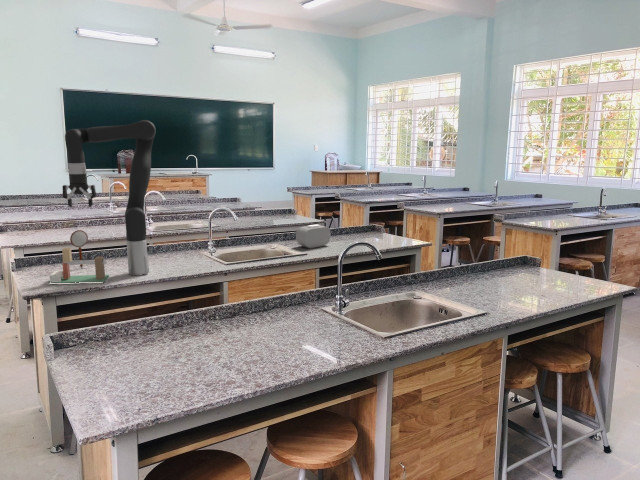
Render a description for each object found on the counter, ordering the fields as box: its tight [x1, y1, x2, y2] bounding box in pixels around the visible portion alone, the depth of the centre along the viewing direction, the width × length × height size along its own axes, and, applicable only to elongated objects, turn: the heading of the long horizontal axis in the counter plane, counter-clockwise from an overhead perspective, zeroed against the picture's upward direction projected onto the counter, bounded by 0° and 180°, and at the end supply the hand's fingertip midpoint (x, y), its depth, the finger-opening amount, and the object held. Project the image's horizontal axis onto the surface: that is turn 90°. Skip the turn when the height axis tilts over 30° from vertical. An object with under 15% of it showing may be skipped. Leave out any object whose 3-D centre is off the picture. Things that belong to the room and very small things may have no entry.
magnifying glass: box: [69, 229, 89, 269], centre depth 261 cm, size 9×2×20 cm, turn 137°
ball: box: [55, 270, 64, 279], centre depth 240 cm, size 4×4×4 cm
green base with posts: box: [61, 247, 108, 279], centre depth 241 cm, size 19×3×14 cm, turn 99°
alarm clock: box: [295, 224, 332, 249], centre depth 319 cm, size 21×10×13 cm, turn 130°
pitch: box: [49, 255, 110, 283], centre depth 241 cm, size 24×11×11 cm, turn 99°
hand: (80, 206), depth 243 cm, fingers open, 8 cm apart
